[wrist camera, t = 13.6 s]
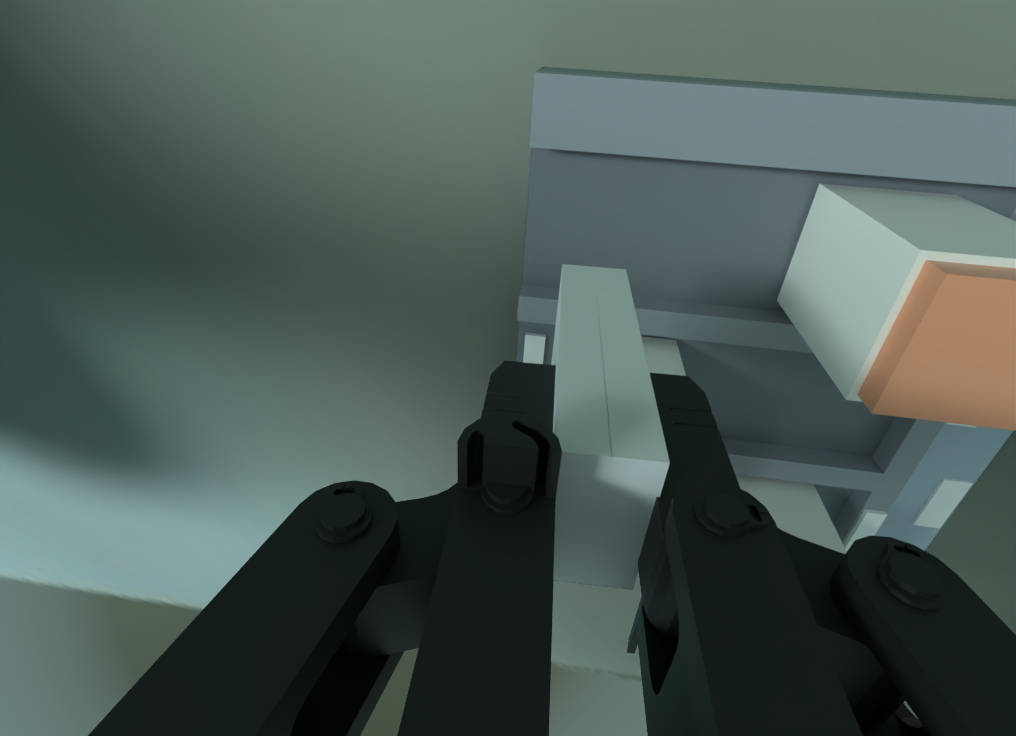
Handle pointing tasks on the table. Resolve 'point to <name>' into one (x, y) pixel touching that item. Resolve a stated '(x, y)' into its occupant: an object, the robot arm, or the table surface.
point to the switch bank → (744, 243)
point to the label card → (941, 482)
